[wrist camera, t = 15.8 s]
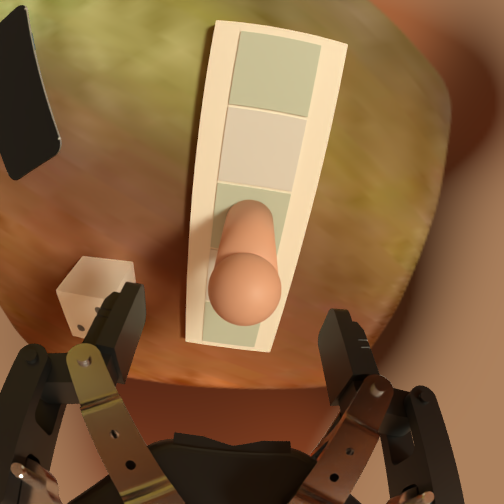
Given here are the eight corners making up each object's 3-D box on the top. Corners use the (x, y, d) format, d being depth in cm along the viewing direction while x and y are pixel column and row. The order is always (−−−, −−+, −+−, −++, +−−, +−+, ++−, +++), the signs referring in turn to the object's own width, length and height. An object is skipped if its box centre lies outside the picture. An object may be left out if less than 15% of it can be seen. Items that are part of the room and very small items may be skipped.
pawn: (221, 239, 21) (200, 335, 13) (227, 194, 19) (205, 275, 11) (269, 247, 21) (274, 345, 13) (279, 202, 19) (292, 288, 12)
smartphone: (11, 184, 19) (-26, 49, 11) (16, 181, 19) (-21, 48, 12) (63, 150, 18) (24, -1, 10) (68, 148, 18) (29, 0, 11)
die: (94, 301, 26) (72, 338, 21) (83, 255, 23) (54, 291, 18) (142, 308, 26) (125, 350, 21) (135, 261, 23) (112, 302, 19)
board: (186, 335, 27) (185, 342, 26) (217, 22, 14) (215, 19, 13) (269, 346, 28) (269, 353, 27) (344, 46, 15) (348, 44, 14)
